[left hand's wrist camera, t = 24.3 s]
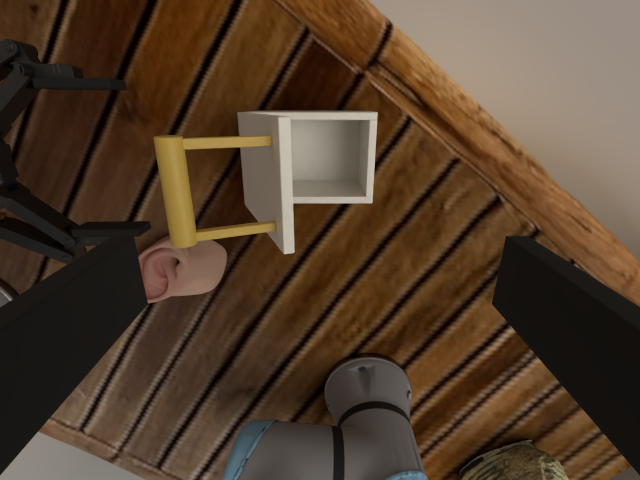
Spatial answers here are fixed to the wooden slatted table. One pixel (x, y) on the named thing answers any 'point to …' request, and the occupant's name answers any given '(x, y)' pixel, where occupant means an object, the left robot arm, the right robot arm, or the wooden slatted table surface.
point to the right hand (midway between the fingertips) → (133, 161)
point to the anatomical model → (181, 268)
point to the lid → (258, 181)
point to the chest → (332, 155)
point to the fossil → (514, 464)
